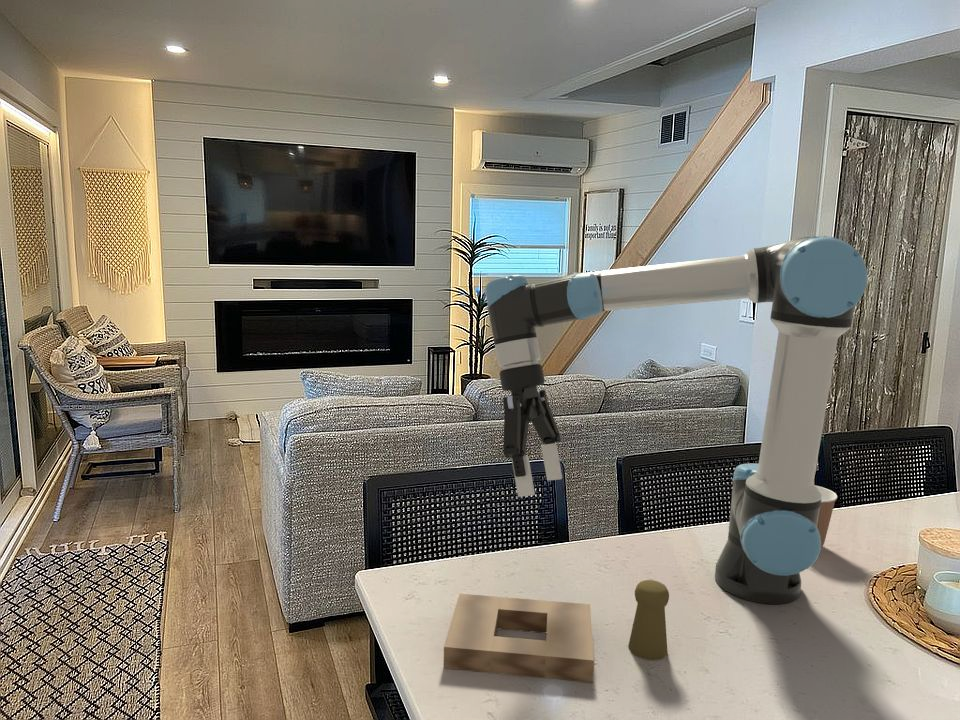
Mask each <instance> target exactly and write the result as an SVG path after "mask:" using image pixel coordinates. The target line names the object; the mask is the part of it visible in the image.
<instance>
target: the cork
mask: <svg viewBox="0 0 960 720" xmlns="http://www.w3.org/2000/svg"><path fill="white" fill-rule="evenodd" d="M634 598H635V601H636V603H637V605H636V609H635V615H634V617H633V623H632V628H631V633H630V637H629V642H628V646H627V647H628V650H629V651H630V652H631V654H633V655H635V656H636V657H638V658H640V659H643V660H647V661H658V660H662V659H664V658H665V657H666V656H667V655H668V652H669V651H668V637H667V623H666V606H667V605H668V603H669V600H670V593H669V589H668V588H667V586H666V585H665V584H663V583H662V582H661V581H658V580H652V579H646V580H641V581H639V582H638V584H637V585H636V587H635V589H634Z"/></svg>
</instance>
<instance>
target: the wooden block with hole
mask: <svg viewBox="0 0 960 720" xmlns="http://www.w3.org/2000/svg"><path fill="white" fill-rule="evenodd" d="M498 628H501V629H500V630H507V629H513V630H512V631H518V630H523V631H522V632H530V631H535V632H534V633H541V632H547V634H546V633H545V634H546V638H545V639H546V640H544V639H543V640H541V639H533V638H521V637H520V638H519V637H508V636H497V635H498V630H499V629H498ZM447 631H448V632H447V635H446V638H445V642H444V645H443V669H446V670H447V669H448V670H458V671H459V670H460V671H468V672H480V673H490V674H502V675H511V676H512V675H513V676H522V677H523V676H524V677H531V678H541V679H542V678H544V679H545V678H546V679H553V680H554V679H555V680H565V681H567V680H568V681H574V682H575V681H576V682H585V683H594V667H595V665H594V664H595V655H594V654H595V652H594V641H593V640H594V638H593V626H592V613H591V603H580V602H567V601H555V600H543V599H542V600H541V599H531V598H520V597H519V598H517V597H507V596H506V597H505V596H494V595H483V594H482V595H481V594H469V593H459V594H458V597H457V601H456V604H455V608H454V612H453V615H452V619H451V621H450V626H449V628H448V630H447Z"/></svg>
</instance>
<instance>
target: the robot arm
mask: <svg viewBox="0 0 960 720" xmlns="http://www.w3.org/2000/svg"><path fill="white" fill-rule="evenodd" d="M867 269H868V268H867V265H866V262H865V260H864V258H863V257H862V255H861V254H860V252H859V251H858V250H857V249H856V248H855V247H853V245H851V244H849V243H848V242H846V241H844V240H842V239H839V238H837V237H834V236H833V237H832V236H827V235H824V236H821V235H820V236H814V235H813V236H806V237H805V236H803V237H799V238H795V239H793V240H788V241H785V242H782V243H778V244H777V243H776V244H773V245H769V246H762V247H755V248H754V247H753V248H750V249H749V250H748V251H747V252H746V253H745V254H742V255H733V256H725V257H716V258H715V257H714V258H708V259H698V260H689V261H679V262H671V263H661V264H660V263H659V264H653V265H643V266H634V267H633V266H632V267H624V268H615V269H605V270H601V271H598V270H597V271H589V272H579V271H578V272H572V273H568V274H566V275H564V276H562V277H560V278H555V279H551V280H547V281H542V282H538V283H531V284H530V283H529V282H528V281H527V277H526V276H524V275H521V274H514V275H508V276H502V277H498V278H494V279H492V280H490V281H488V282H487V284H486V286H485V295H486V296H485V297H486V304H487V307H486V309H487V312H488V317H489V321H490V327H491V333H492V338H493V344H494V349H495V351H494V353H493V355H494V356H495V357H496V361H497V366H498V367H500V368H502V370H500V371H499V379H500V384H501V390H502V391H503V392H511V393H510V394H511V395H509V396H505V397H503V399H502V401H503V408H504V409H503V410H504V411H503V413H504V418H503V419H504V420H503V448H502V449H503V455H504V458H506V459H511V465H512V470H513V473H514V474H513V475H514V481H515V487H516V491H517V493H516V494H517V497H518V498H519V497H520V498H521V497H529V496H530V497H531V496H535V495H536V493H535V487H534V481H533V476H532V471H531V464H530V460H529V459H530V458H529V455H528V454H526V447H527V441H528V432H529V425H530V423H532V425H533V427H534V429H535V431H536V433H537V435H538V436H539V438H540V440H541V442H542V443H543V444H541V445H540V446H541V447H540V448H541V453H542V459H543V464H544V469H545V476H546V480H547V482H548V481H557V480H562V479H563V474H562V469H561V467H562V466H561V462H560V456H559V452H558V451H559V450H558V446H557V443H560V442H561V441H562V438H561V435H560V431H559V428H558V425H557V424H556V423H557V422H556V420H555V418H554V415H553V412H552V409H551V407H550V404H549V401H548V397H547V393H546V390H545V388H544V389H538V388H537V387H538V386H543V385H544V384H545V382H546V379H545V375H544V369H543V366H542V365H541V363H539V361H540V360H541V359H542V357H541V352H540V347H539V341H538V336H537V330H536V329H537V328H542V327H545V326H551V325H556V324H562V323H568V322H572V321H573V322H574V321H579V320H581V321H584V320H586V319H590V318H592V317H596V316H599V315H601V314H602V312H609V311H620V310H630V309H633V310H634V309H640V308H653V307H663V306H674V305H675V306H676V305H687V304H696V303H698V304H699V303H708V302H720V301H731V300H740V299H748V300H749V301H751V302H752V303H754V304H759V303H760V304H761V303H772V304H771V312H770V319H769V320H770V321H771V323H773V325H774V326H775V327H776V329H777V331H778V334H777V341H776V347H775V355H774V360H773V366H772V372H771V373H772V374H771V379H770V384H769V385H770V386H769V391H768V393H769V394H768V398H767V400H768V401H767V405H766V413H765V419H764V425H763V430H762V431H763V432H762V438H761V445H760V452H759V458H758V459H759V460H758V463H749V462H748V463H742V464H739V465H737V466H736V467H735V469H734V471H733V478H732V480H731V481H732V492H731V504H730V513H729V522H728V523H729V524H728V533H727V535H728V536H727V541H726V543H725V545H724V547H723V548H722V551H721V553H720V555H719V557H718V560H717V562H716V564H715V568H714V569H715V571H714V580H715V582H716V583H717V585H719V587H720V588H722V589H723V590H725V591H726V592H727V593H730V594H731V595H734V596H735V597H738V598H741V599H743V600H746V601H747V600H748V601H751V602H754V603H755V602H756V603H759V604H761V603H762V604H769V605H770V604H771V605H772V604H773V605H777V604H778V605H779V604H787V603H792V602H793V601H795V600H798V598H800V595H801V592H802V591H801V590H802V578H801V574H800V573H801V572H804V571H805V570H808V569H809V568H811V567H812V566H813V565H814V564H815V562H816V561H817V560H818V558H819V556H820V553H821V551H822V549H821V536H820V532H819V530H818V528H817V523H818V517H819V511H820V505H821V499H822V494H821V492H820V491H819V490H818V489H817V487H816V486H817V485H815V475H816V471H817V463H818V460H819V459H818V458H819V452H820V446H821V441H822V435H823V428H824V424H825V423H824V422H825V416H826V411H827V410H826V409H827V404H828V399H829V393H830V388H831V381H832V374H833V370H834V365H835V363H834V361H835V357H836V351H837V346H838V340H839V338H841V336H842V335H844V334H845V333H846V332H848V331H849V330H851V328H852V322H853V318H854V311H855V306H856V305H857V304H858V303H859V302H860V300H861V298H862V297H863V295H864V293H865V291H866V288H867V285H868V270H867Z"/></svg>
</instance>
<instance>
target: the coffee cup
mask: <svg viewBox="0 0 960 720" xmlns="http://www.w3.org/2000/svg"><path fill="white" fill-rule="evenodd" d="M815 486H816V487H817V489H818V490H819V491H820V492H821V494H822V499H821V505H820V511H819V517H818V523H817V528H818V530H819V532H820V536H821V550H822V549H823V547H824V544H825V542H826V538H827V535H828V530H829V526H830V522H831V519H832V514H833V509H834V506H835V503H836V500H837V499H838V495H837V493H836V492H834V491H833V490H831V489H828V488H825V487H823V486H819V485H815Z"/></svg>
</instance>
